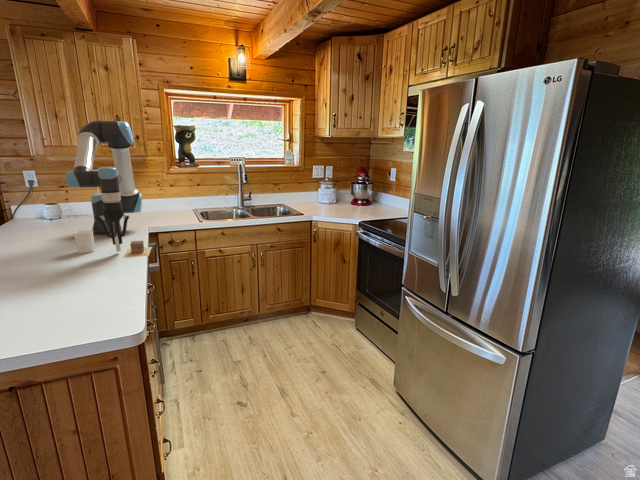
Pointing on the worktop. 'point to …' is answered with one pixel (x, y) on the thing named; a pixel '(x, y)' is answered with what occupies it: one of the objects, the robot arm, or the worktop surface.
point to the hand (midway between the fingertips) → (118, 250)
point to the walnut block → (137, 247)
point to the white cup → (84, 241)
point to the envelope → (145, 253)
